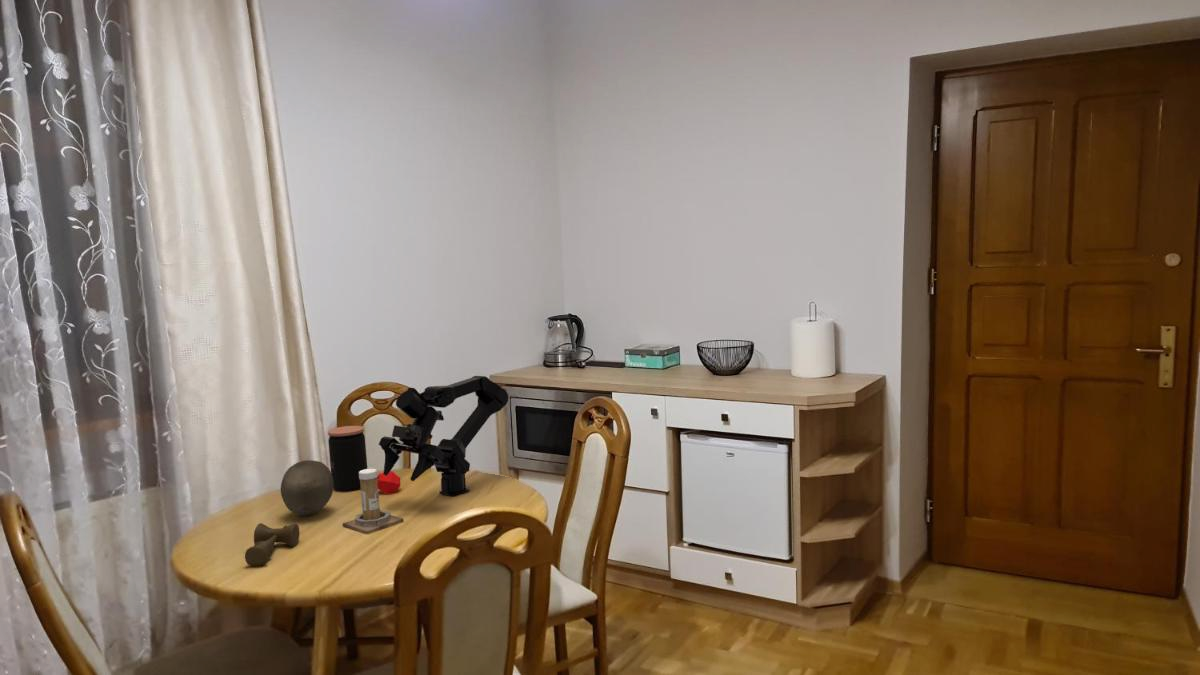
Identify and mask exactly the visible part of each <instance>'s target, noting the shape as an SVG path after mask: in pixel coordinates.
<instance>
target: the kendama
mask: <svg viewBox="0 0 1200 675" xmlns="http://www.w3.org/2000/svg"><path fill="white" fill-rule="evenodd" d="M299 541H300V527H299V524H298V523H296V522H294V523H291V524H290V525H287V524H286V525H283V527H282V528H281V527H279V528H271V527H269V526H268V525H266V524H264V523H258V524H257V525H256V527H255V529H254V533H253V544H254V545H253V546H250V547H248V548H247V549H246V551H245V553H244V559H245V563H246V564H247V565H248V566H250V567H251V568H258V567H263V566H265V565H266V564H267V562H268V558H270V557H272V555H273V553H274V545H275V543H283V544H286V545H287V546H290V547H293V548H294V547H296V546H297V545H298V542H299Z"/></svg>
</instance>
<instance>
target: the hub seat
mask: <svg viewBox="0 0 1200 675" xmlns="http://www.w3.org/2000/svg"><path fill="white" fill-rule="evenodd" d="M380 517H381V518H378V519H375V520H363V512H361V513H359V514H356V517H355V518H354V519H351V520H349V521H346V522H343V523H342V527H343V528H346V529H349V528H350V529H349V530H352V531H357V532H359V533H363V534H364V535H365V534H366V535H370V534H372V533H375V532H378V531H381V530H383V529H386V528H389V527H393V526H395V525H398V524H401V523H403V522H405V521H404V518H402V517H399V516H395V515H392V514H391V512H390V511H387V510H380Z"/></svg>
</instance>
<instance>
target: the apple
mask: <svg viewBox="0 0 1200 675" xmlns="http://www.w3.org/2000/svg"><path fill="white" fill-rule="evenodd" d="M377 486H378V491H380V492H382V493H384V494H385V495H390V494H395V493H398V491H399V489H400V487H401V477H400V476H399V475H397V474H396V473H395V472H394V471H392V470H391V471H390V472H389V473H388V475H387V476H385V475H384V472H380V473H379V474H377Z"/></svg>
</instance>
